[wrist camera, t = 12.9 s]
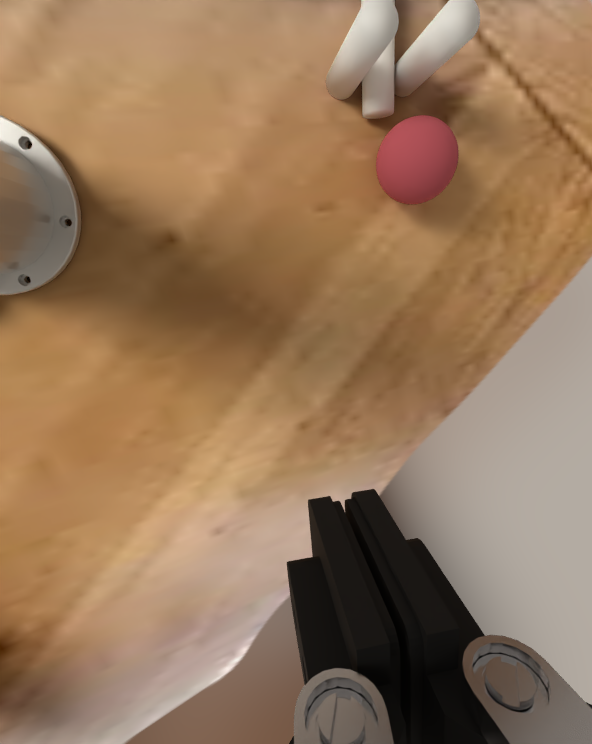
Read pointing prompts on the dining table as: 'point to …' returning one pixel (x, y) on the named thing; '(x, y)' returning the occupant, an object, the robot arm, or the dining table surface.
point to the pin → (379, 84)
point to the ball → (417, 159)
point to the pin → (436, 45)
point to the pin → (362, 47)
